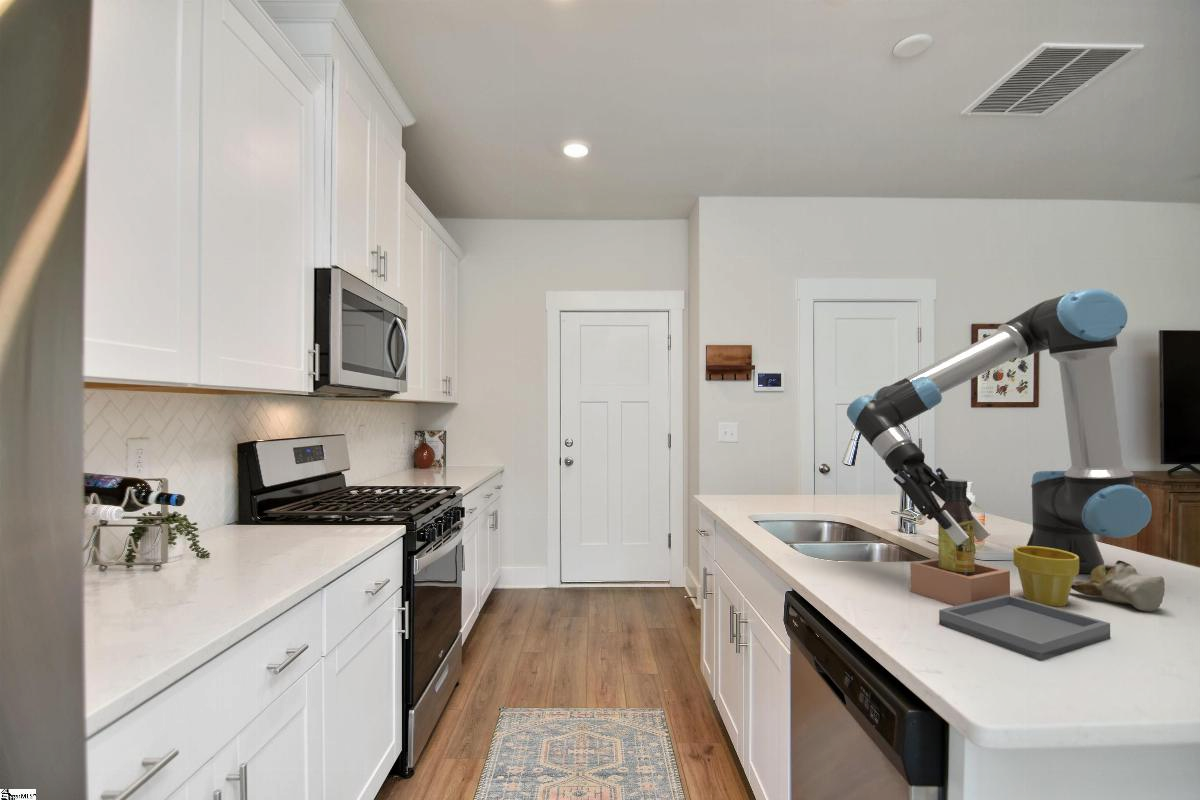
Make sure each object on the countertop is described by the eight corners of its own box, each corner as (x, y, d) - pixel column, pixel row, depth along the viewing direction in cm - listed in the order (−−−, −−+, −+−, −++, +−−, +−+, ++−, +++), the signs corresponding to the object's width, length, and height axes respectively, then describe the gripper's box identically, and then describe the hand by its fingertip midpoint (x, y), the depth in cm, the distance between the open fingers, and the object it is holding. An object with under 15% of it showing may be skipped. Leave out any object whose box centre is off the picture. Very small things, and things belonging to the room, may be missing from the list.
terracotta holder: (948, 583, 123) (948, 556, 123) (1010, 601, 112) (1009, 571, 112) (910, 591, 118) (910, 562, 118) (970, 610, 107) (970, 578, 107)
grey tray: (1007, 607, 108) (1007, 594, 108) (1110, 638, 94) (1110, 623, 94) (939, 623, 100) (939, 609, 100) (1040, 660, 85) (1040, 644, 85)
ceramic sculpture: (1140, 569, 103) (1057, 554, 118) (1143, 618, 103) (1060, 596, 117) (1183, 566, 106) (1097, 551, 120) (1187, 614, 105) (1100, 593, 120)
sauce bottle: (961, 583, 111) (958, 482, 111) (931, 575, 116) (929, 479, 117) (983, 578, 113) (980, 480, 114) (952, 570, 119) (950, 477, 119)
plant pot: (1093, 612, 106) (1092, 560, 106) (1030, 608, 108) (1030, 557, 108) (1059, 594, 116) (1059, 546, 116) (1003, 591, 118) (1003, 544, 118)
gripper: (916, 460, 133) (990, 544, 118) (858, 465, 125) (930, 555, 110) (937, 439, 129) (1017, 524, 113) (879, 442, 120) (956, 533, 105)
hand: (974, 539), depth 112 cm, fingers closed on sauce bottle, 6 cm apart
